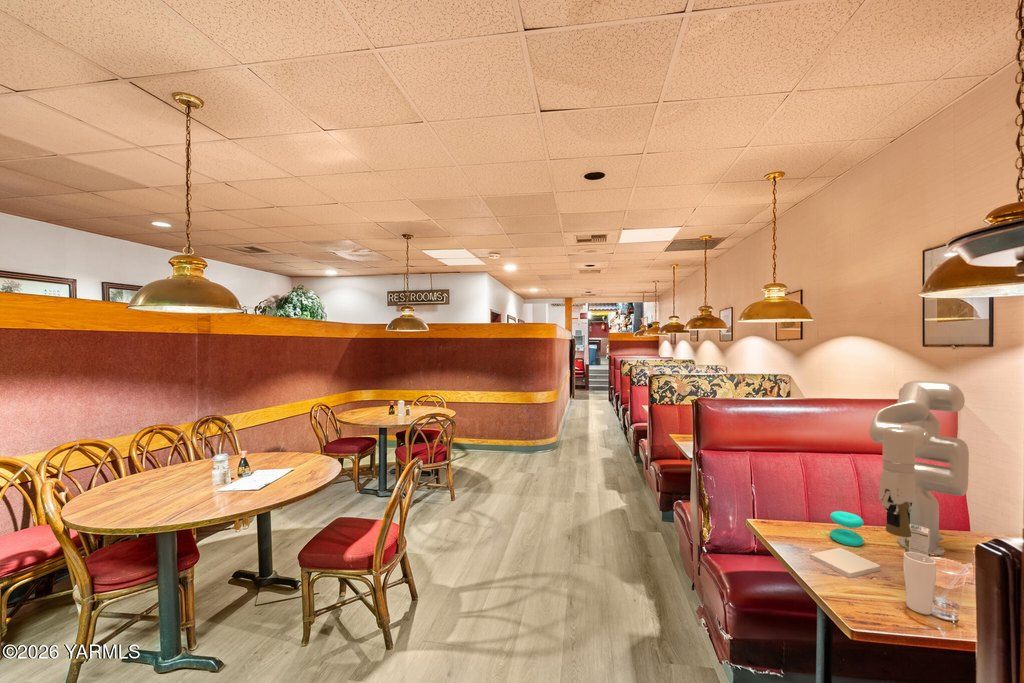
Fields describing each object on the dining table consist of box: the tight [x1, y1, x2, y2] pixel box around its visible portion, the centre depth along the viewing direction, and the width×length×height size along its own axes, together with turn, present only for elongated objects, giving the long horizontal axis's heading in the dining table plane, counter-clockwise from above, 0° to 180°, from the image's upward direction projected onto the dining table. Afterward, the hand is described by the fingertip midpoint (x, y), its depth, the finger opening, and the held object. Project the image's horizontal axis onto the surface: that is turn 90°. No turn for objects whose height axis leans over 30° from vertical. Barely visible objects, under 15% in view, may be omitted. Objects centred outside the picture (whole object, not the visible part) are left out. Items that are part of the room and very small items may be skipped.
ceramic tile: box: [809, 547, 882, 579], centre depth 144 cm, size 15×13×2 cm
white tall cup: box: [902, 551, 937, 616], centre depth 120 cm, size 7×7×15 cm
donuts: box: [829, 510, 865, 547], centre depth 161 cm, size 10×10×10 cm
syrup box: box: [904, 524, 930, 557], centre depth 140 cm, size 6×6×14 cm
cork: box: [885, 500, 911, 537], centre depth 132 cm, size 6×6×11 cm
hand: (898, 523), depth 132 cm, fingers closed on cork, 4 cm apart
